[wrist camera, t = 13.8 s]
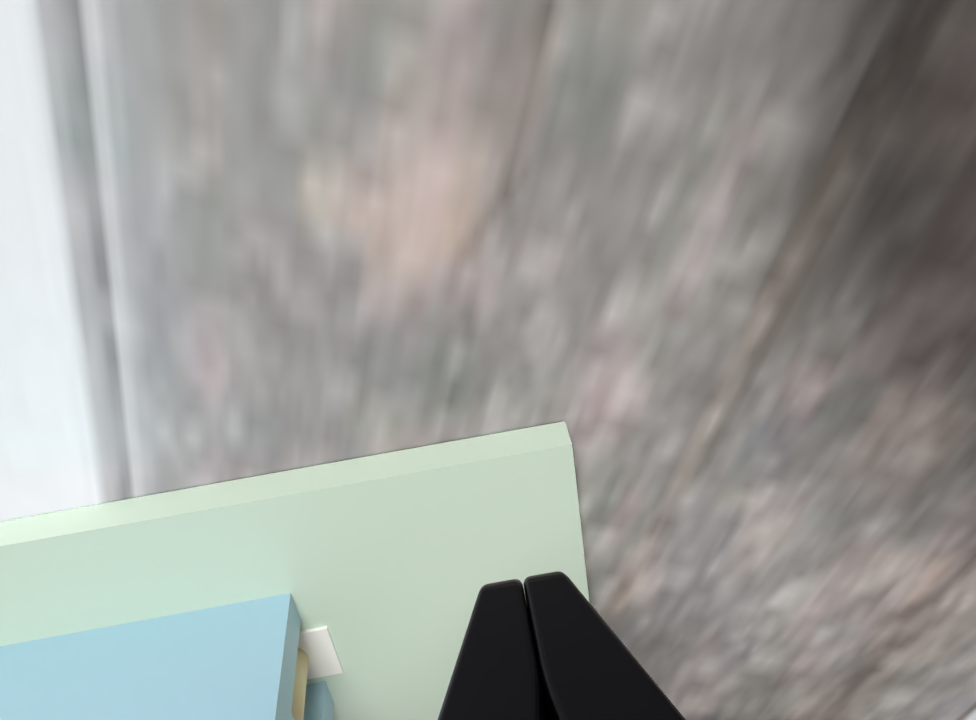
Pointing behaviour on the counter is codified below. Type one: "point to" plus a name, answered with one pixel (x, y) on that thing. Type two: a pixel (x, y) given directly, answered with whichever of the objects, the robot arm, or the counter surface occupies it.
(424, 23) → the counter surface
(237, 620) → the blue notched block
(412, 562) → the pale green flat slab
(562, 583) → the robot arm
